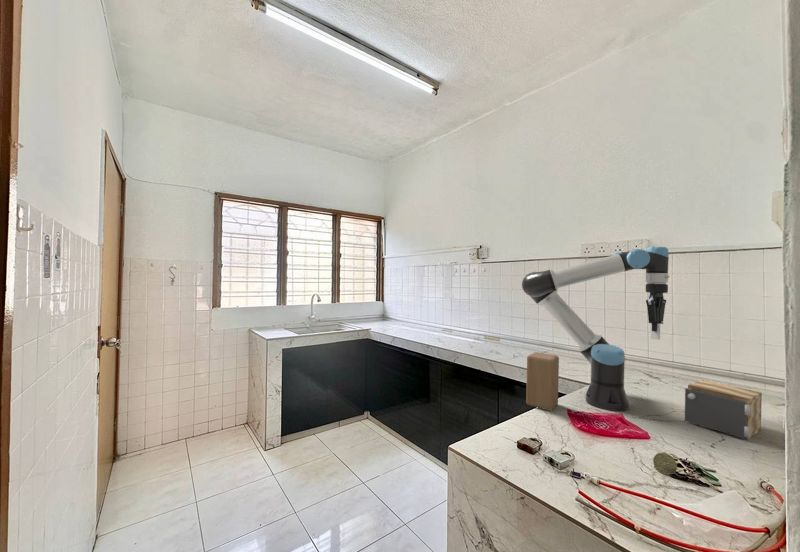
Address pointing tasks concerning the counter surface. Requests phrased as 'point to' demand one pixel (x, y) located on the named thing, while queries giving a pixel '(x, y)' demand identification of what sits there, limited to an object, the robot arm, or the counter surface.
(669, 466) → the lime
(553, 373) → the wooden block
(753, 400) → the box
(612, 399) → the robot arm
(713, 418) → the door
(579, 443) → the counter surface
